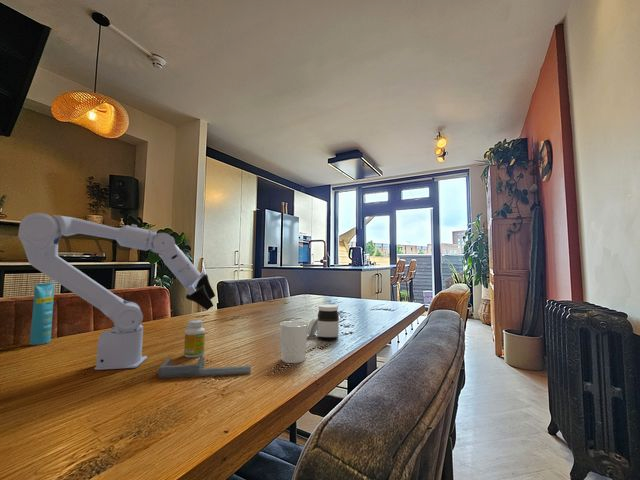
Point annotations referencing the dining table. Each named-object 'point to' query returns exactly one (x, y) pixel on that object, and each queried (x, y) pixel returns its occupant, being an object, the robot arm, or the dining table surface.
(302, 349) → the white cup
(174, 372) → the rail
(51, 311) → the tube
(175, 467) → the dining table surface
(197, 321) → the supplement bottle
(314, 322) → the spread jar
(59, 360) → the dining table surface
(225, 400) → the dining table surface
